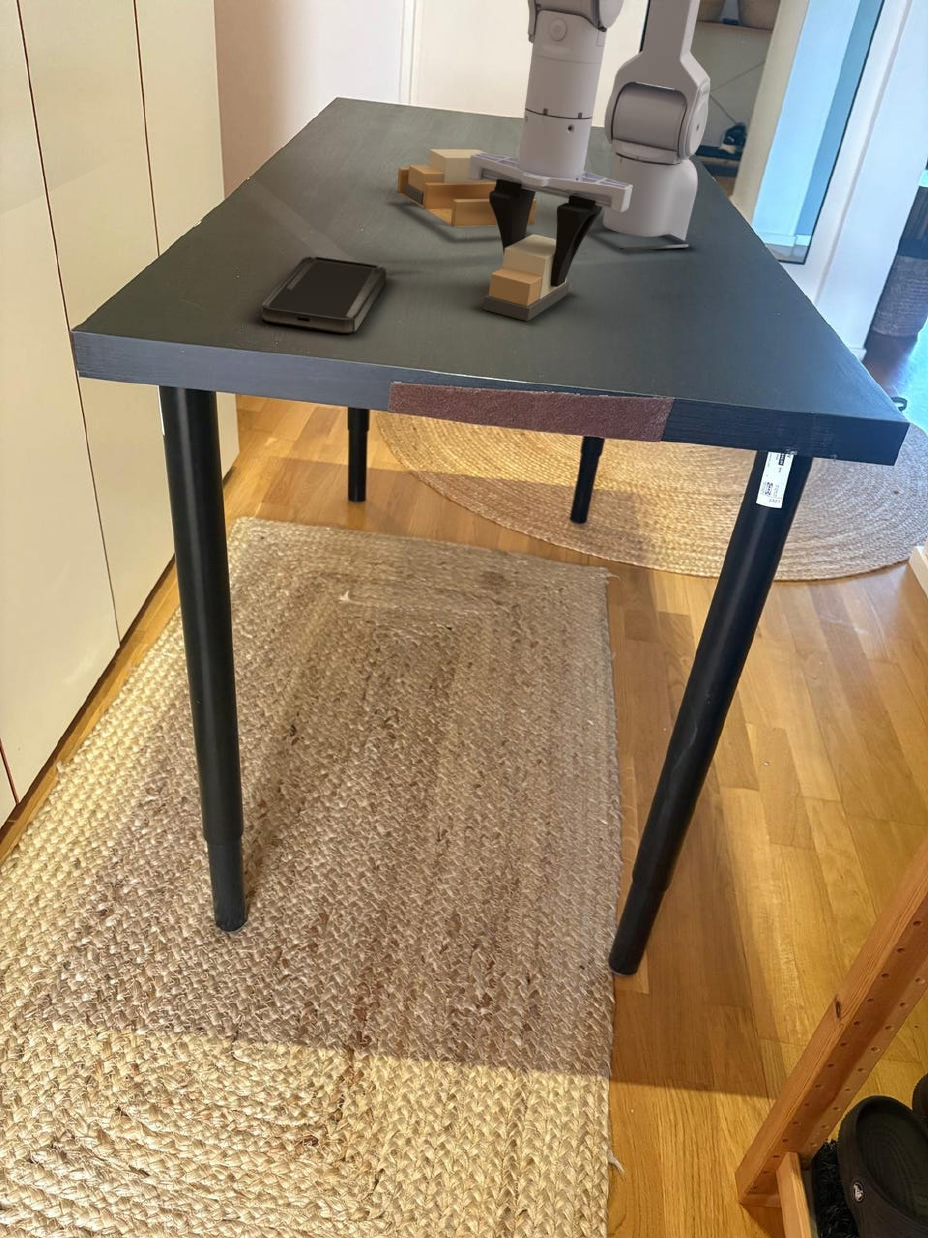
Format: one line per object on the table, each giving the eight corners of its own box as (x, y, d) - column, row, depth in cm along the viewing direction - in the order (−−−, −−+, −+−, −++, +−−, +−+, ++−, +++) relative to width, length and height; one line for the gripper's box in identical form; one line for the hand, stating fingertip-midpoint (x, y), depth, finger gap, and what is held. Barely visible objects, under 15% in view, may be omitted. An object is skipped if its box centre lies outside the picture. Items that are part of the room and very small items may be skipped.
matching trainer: (476, 192, 110) (481, 148, 107) (494, 202, 107) (499, 157, 104) (404, 194, 106) (406, 148, 103) (421, 204, 103) (424, 157, 100)
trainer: (525, 283, 89) (533, 232, 86) (567, 294, 88) (576, 242, 85) (482, 309, 82) (489, 254, 79) (527, 321, 81) (535, 265, 78)
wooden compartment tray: (470, 202, 112) (474, 167, 110) (531, 237, 102) (536, 199, 100) (396, 204, 108) (398, 167, 105) (452, 240, 98) (456, 201, 96)
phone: (388, 266, 85) (354, 320, 73) (387, 279, 85) (353, 334, 74) (304, 254, 85) (257, 306, 73) (304, 267, 86) (257, 320, 74)
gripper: (459, 101, 76) (445, 269, 84) (625, 134, 71) (592, 308, 79) (496, 93, 81) (478, 252, 89) (652, 124, 76) (618, 288, 85)
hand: (534, 277), depth 84 cm, fingers closed on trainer, 4 cm apart
